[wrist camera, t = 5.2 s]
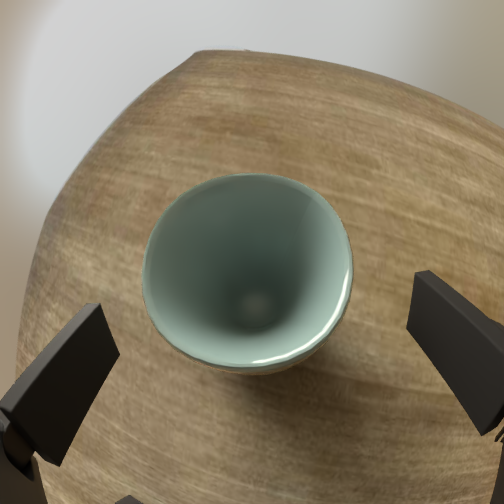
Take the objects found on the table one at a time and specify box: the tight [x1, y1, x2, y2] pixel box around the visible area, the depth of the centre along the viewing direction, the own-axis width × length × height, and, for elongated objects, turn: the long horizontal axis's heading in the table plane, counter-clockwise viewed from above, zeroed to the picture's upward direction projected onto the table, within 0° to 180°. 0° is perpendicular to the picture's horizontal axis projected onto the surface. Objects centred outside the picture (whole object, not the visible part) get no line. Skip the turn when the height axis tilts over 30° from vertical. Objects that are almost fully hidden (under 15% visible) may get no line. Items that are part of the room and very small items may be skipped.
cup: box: [141, 173, 354, 375], centre depth 14 cm, size 8×8×10 cm
